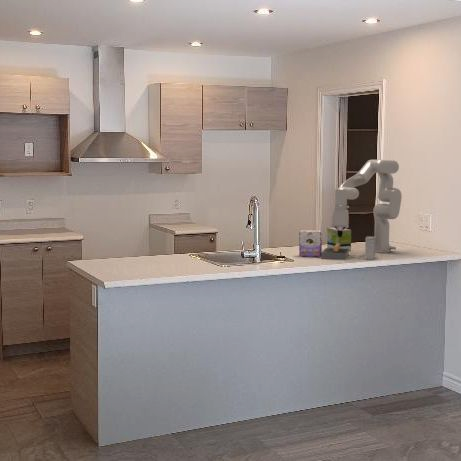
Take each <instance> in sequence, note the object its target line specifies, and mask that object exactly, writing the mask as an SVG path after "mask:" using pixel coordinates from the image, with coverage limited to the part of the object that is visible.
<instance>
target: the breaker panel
mask: <svg viewBox="0 0 461 461" xmlns="http://www.w3.org/2000/svg"><path fill="white" fill-rule="evenodd" d="M349 256H350V251H349V249H339V250H338V252H336V251H334V248H327V247H326V248H324V249H322V252H321V257H320V258H321V260H338V259H340V260H344V261H346V260H347V259H348V257H349Z"/></svg>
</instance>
